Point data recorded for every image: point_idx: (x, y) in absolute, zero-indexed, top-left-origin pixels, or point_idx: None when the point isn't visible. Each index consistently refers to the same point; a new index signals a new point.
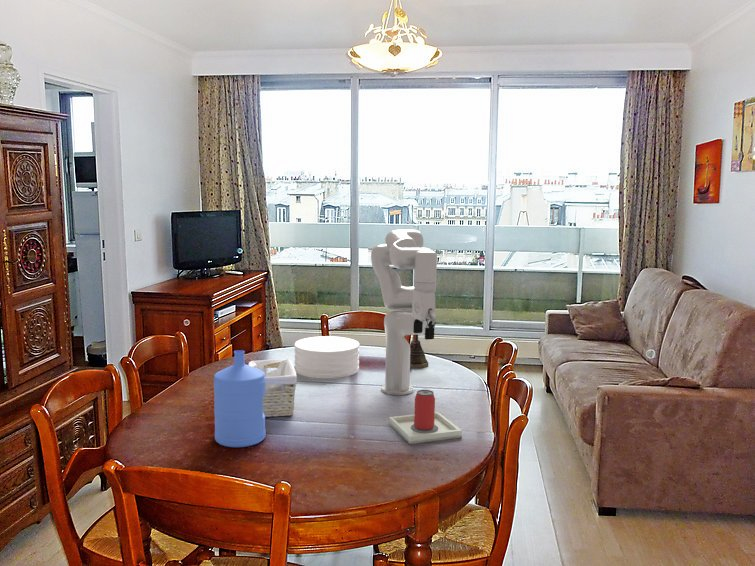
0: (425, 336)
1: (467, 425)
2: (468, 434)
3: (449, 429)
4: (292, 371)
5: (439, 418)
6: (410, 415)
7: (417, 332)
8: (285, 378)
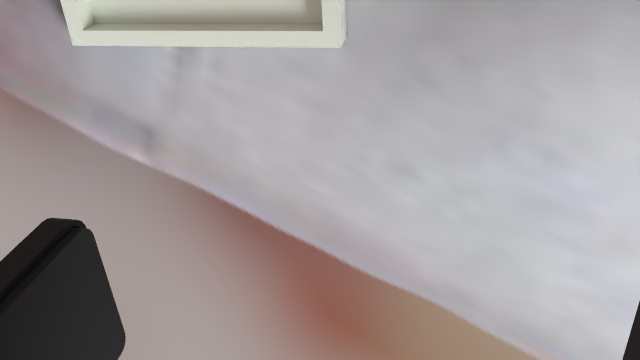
0: (19, 247)
1: (229, 128)
2: (127, 81)
3: (156, 14)
4: None
5: (286, 25)
6: None
7: (633, 331)
8: None
